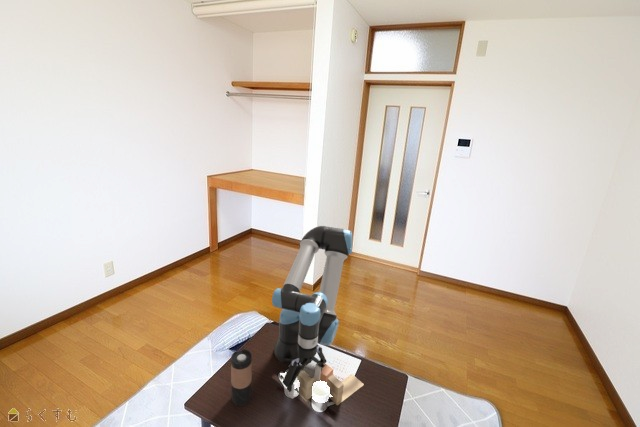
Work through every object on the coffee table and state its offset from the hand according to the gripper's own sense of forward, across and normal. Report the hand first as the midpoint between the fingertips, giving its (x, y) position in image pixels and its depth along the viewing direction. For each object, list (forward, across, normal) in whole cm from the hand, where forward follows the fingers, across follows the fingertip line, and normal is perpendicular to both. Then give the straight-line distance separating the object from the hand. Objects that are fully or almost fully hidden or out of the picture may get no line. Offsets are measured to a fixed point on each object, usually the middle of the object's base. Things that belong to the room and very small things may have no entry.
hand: (304, 387), depth 120 cm
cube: (+3, +11, 0) cm, 11 cm away
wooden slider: (+4, +6, 0) cm, 8 cm away
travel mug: (+4, -20, +14) cm, 25 cm away
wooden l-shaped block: (+4, +14, -9) cm, 18 cm away
